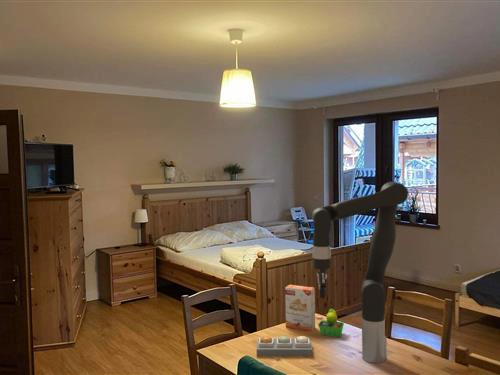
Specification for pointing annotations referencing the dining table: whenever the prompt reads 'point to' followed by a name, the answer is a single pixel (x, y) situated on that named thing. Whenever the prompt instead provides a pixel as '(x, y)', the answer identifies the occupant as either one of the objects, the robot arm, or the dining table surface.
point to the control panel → (284, 348)
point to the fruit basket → (331, 325)
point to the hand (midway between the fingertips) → (322, 297)
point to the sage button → (283, 339)
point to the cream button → (301, 339)
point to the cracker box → (300, 307)
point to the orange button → (265, 339)
